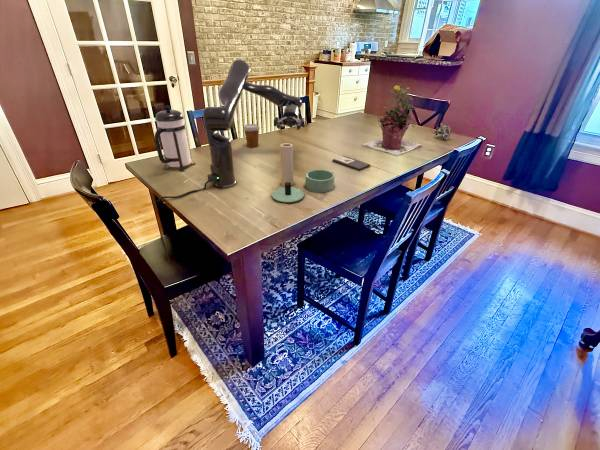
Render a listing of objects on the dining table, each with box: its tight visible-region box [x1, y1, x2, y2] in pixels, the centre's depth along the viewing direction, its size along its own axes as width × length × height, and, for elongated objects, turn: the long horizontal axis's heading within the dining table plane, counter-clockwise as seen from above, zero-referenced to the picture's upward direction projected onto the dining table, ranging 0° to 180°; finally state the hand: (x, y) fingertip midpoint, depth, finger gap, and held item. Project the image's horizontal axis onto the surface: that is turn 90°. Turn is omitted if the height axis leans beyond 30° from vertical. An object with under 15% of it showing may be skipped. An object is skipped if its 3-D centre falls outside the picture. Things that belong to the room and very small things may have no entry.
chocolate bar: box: [332, 155, 371, 172], centre depth 161 cm, size 9×1×18 cm
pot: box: [305, 169, 335, 193], centre depth 136 cm, size 13×13×6 cm
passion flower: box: [432, 122, 452, 141], centre depth 199 cm, size 11×11×12 cm
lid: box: [271, 182, 305, 203], centre depth 127 cm, size 14×14×6 cm
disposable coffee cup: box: [243, 123, 260, 148], centre depth 184 cm, size 10×10×12 cm
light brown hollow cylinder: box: [279, 142, 294, 187], centre depth 134 cm, size 5×5×18 cm
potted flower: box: [362, 82, 422, 157], centre depth 178 cm, size 27×25×35 cm
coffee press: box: [154, 104, 196, 172], centre depth 148 cm, size 17×16×30 cm
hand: (288, 127), depth 135 cm, fingers open, 8 cm apart
